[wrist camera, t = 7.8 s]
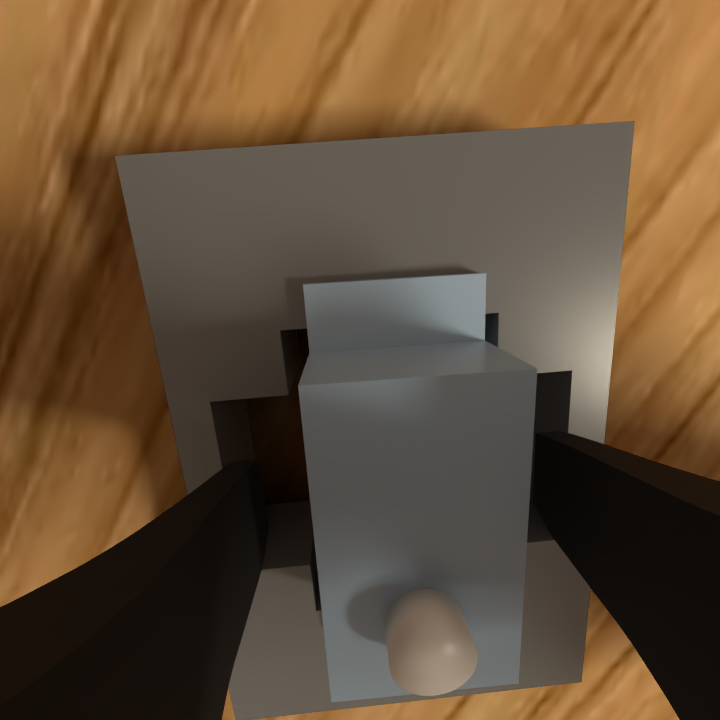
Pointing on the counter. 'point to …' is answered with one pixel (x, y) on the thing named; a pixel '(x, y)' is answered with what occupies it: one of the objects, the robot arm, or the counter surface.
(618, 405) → the counter surface
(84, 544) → the counter surface
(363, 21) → the counter surface
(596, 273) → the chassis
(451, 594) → the block
